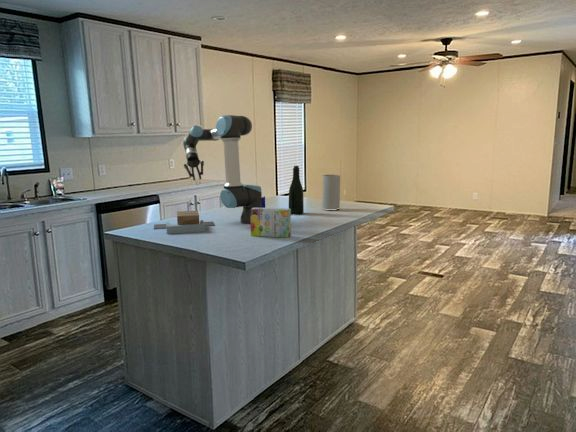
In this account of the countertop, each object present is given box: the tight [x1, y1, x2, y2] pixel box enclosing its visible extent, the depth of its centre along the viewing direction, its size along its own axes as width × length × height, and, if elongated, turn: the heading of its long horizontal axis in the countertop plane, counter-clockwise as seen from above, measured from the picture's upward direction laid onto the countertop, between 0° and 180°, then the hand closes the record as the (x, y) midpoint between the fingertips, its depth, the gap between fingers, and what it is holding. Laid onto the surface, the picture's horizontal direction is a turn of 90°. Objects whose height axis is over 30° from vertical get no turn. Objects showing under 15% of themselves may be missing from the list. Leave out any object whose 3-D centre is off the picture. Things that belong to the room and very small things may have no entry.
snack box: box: [250, 207, 292, 239], centre depth 235 cm, size 21×6×15 cm, turn 77°
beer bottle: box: [288, 165, 305, 215], centre depth 301 cm, size 10×10×33 cm
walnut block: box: [176, 210, 200, 225], centre depth 255 cm, size 16×12×9 cm
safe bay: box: [165, 219, 206, 235], centre depth 250 cm, size 14×21×4 cm, turn 106°
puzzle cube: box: [262, 195, 266, 208], centre depth 315 cm, size 10×10×10 cm
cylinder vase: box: [321, 174, 341, 209], centre depth 318 cm, size 12×12×25 cm
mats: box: [153, 220, 216, 230], centre depth 263 cm, size 12×35×1 cm, turn 106°
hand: (198, 183), depth 274 cm, fingers closed
